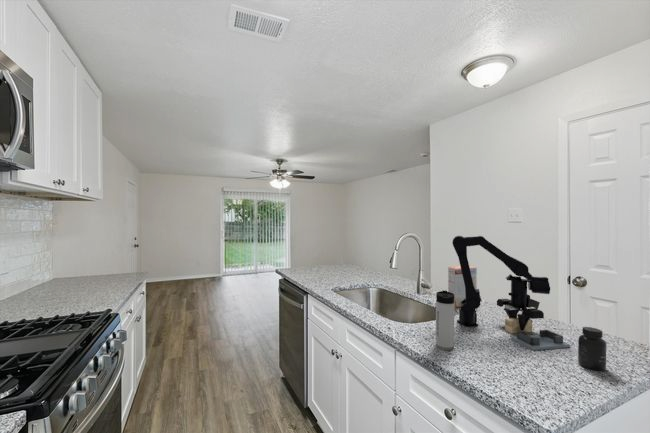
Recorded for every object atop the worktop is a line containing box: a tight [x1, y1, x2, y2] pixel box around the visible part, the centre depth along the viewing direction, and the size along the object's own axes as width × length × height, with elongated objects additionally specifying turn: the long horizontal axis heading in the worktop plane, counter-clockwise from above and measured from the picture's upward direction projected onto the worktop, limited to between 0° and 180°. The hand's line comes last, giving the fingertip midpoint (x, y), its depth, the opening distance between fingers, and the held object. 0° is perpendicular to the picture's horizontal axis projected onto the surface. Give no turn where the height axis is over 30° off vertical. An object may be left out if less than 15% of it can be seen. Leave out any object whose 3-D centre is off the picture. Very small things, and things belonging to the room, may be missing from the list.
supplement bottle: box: [577, 326, 608, 372], centre depth 97 cm, size 7×7×12 cm
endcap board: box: [510, 329, 571, 351], centre depth 114 cm, size 16×10×4 cm, turn 101°
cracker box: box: [447, 265, 478, 309], centre depth 162 cm, size 14×6×21 cm, turn 106°
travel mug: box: [435, 290, 455, 351], centre depth 110 cm, size 6×7×20 cm
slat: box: [504, 317, 533, 334], centre depth 127 cm, size 10×4×5 cm, turn 101°
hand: (518, 328), depth 127 cm, fingers closed on slat, 3 cm apart
